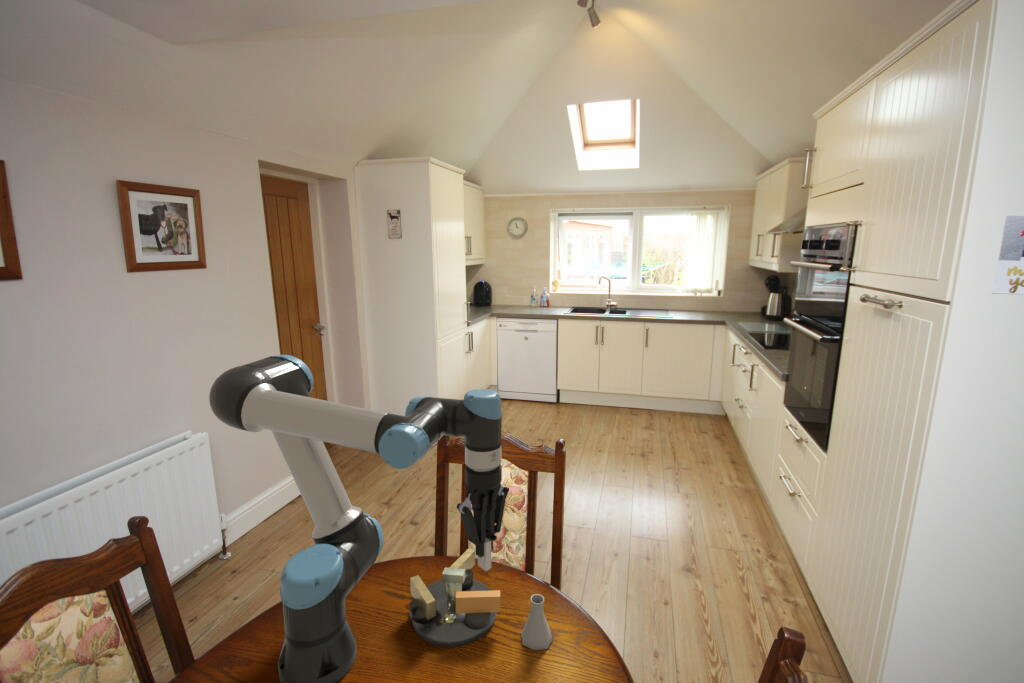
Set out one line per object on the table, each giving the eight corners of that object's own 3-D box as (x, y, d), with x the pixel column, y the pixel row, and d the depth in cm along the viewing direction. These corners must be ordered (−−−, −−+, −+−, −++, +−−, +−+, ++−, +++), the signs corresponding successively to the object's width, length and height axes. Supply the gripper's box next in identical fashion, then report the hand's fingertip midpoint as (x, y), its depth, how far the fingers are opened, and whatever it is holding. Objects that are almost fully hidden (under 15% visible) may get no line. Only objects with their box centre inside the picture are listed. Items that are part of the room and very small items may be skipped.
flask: (550, 654, 102) (551, 613, 100) (517, 648, 103) (518, 608, 101) (554, 628, 109) (555, 590, 107) (523, 623, 110) (524, 585, 108)
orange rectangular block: (455, 629, 105) (455, 604, 104) (457, 609, 111) (456, 585, 110) (500, 628, 106) (500, 602, 104) (499, 608, 111) (499, 584, 110)
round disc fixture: (397, 641, 105) (395, 597, 102) (427, 574, 127) (426, 536, 125) (488, 651, 102) (488, 606, 100) (503, 581, 124) (503, 543, 122)
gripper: (471, 480, 91) (472, 590, 95) (518, 460, 100) (518, 561, 104) (447, 468, 96) (449, 572, 100) (494, 450, 105) (494, 546, 109)
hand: (484, 566), depth 102 cm, fingers closed
